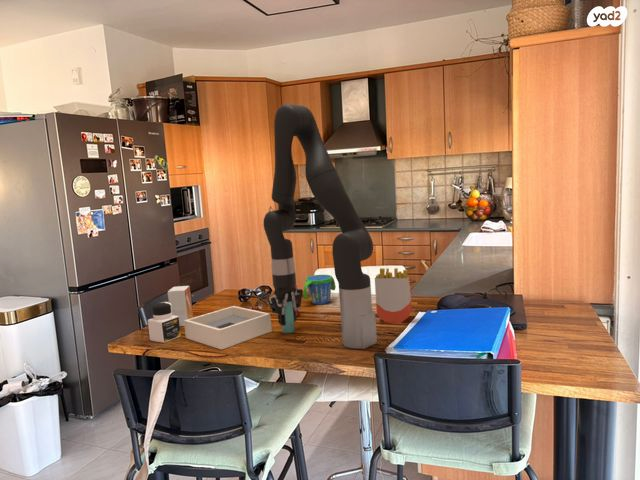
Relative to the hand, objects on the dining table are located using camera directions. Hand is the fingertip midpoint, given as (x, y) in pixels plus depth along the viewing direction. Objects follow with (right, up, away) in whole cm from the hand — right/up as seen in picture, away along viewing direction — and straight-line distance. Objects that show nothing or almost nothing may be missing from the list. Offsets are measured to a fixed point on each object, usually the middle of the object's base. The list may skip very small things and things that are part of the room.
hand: (287, 323), depth 163 cm
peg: (0, -3, 0) cm, 3 cm away
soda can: (0, -1, +19) cm, 19 cm away
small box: (-40, -3, +20) cm, 44 cm away
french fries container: (+35, 0, +4) cm, 36 cm away
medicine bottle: (-41, -6, +3) cm, 41 cm away
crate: (-20, -4, +2) cm, 20 cm away
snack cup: (+11, +2, +34) cm, 36 cm away
